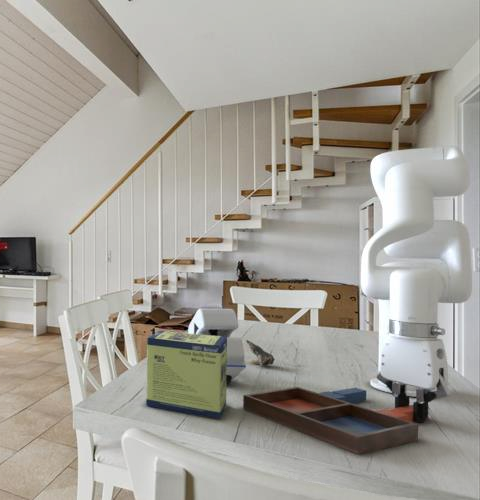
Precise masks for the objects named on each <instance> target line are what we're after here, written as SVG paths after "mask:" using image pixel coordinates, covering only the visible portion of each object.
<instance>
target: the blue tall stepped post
mask: <svg viewBox="0 0 480 500" xmlns="http://www.w3.org/2000/svg"><path fill="white" fill-rule="evenodd" d="M318 393H319V394H323V395H326V396H329V397H332V398H336V399H339V400H342V401H345V402H349V403H352V404H357V403H361V402H366V401H367V389H366V390H365V389H362V388H359V387H351V388H345V389H340V390H333V391H330V390H329V391H322V392H318Z"/></svg>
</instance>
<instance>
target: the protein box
mask: <svg viewBox="0 0 480 500" xmlns="http://www.w3.org/2000/svg"><path fill="white" fill-rule="evenodd" d="M226 373H227V337H223V336H211V335H201V334H190V333H188V332H178V331H170V330H158V331H156V332H154V333H153V334H151V335H150V336H148V337H147V338H146V389H145V390H146V396H145V397H146V398H145V405H146V406H147V407H151V408H152V407H153V408H157V409H161V410H168V411H172V412H177V413H178V412H179V413H184V414H188V415H194V416H199V417H205V418H211V419H215V420H220V419H221V417H222V415H223V413H224V411H225V409H226V406H227V385H226Z"/></svg>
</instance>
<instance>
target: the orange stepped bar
mask: <svg viewBox="0 0 480 500" xmlns="http://www.w3.org/2000/svg"><path fill="white" fill-rule="evenodd" d="M376 411H378V412H381V413H384V414H388V415H391V416H394V417H397V418H401V419H404V420H407V421H410V422H414V420H413V404H409V406H404V407H398V408H395V407H393V408H390V409H389V408H383V409H377V410H376ZM426 420H429V417H428V418H427V419H426ZM414 423H415V422H414Z"/></svg>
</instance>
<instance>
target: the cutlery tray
mask: <svg viewBox="0 0 480 500" xmlns="http://www.w3.org/2000/svg"><path fill="white" fill-rule="evenodd" d="M319 393H320V392H316V391H312V390H310V389H306V388H303V387H300V386H294V387H293V386H292V387H287V388H280V389H276V390H275V389H274V390H267V391H261V392H254V393H247V394H243V395H242V397H243V398H242V409H243V410H245V411H248V412H250V413H253V414H255V415H258V416H260V417H262V418H265V419H267V420H270V421H272V422H274V423H278V424H281V425H282V426H285V427H288V428H289V429H292V430H295V431H298V432H299V433H302V434H305V435H307V436H310V437H312V438H315V439H318V440H320V441H323V442H325V443H327V444H330V445H333V446H335V447H338V448H340V449H342V450H345V451H347V452H350V453H353V454H355V455H358V456H359V455H363V454H367V453H371V452H375V451H380V450H384V449H388V448H392V447H397V446H401V445H405V444H408V443H413V442H417V441H419V423H418V422H410V421H407V420H404V419H401V418H397V417H394V416H391V415H388V414H384V413H381V412H378V411H377V410H375V409H371V408H369V407H365V406H361V405H359V404H356V403H349V402H345V401H342V400H339V399H336V398H332V397H329V396H326V395H323V394H319Z"/></svg>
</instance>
